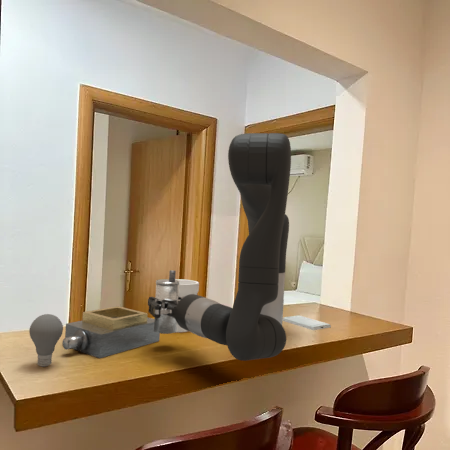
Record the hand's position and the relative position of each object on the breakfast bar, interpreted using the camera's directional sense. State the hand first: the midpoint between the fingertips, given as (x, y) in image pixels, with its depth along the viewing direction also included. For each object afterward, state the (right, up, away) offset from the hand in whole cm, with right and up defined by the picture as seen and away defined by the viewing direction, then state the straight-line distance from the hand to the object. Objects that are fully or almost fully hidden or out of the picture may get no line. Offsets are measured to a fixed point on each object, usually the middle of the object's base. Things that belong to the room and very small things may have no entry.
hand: (161, 300), depth 98 cm
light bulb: (-20, -10, -17) cm, 28 cm away
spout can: (+1, -7, -2) cm, 7 cm away
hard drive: (+40, -14, +31) cm, 53 cm away
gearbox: (-12, -10, -2) cm, 16 cm away
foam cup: (+2, -11, +16) cm, 20 cm away
